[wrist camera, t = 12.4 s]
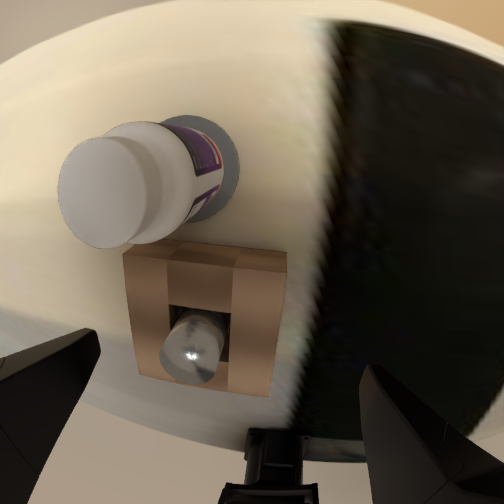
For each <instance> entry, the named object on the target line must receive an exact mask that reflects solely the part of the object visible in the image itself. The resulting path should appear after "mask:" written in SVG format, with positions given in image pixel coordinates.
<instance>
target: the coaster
mask: <svg viewBox="0 0 504 504" xmlns="http://www.w3.org/2000/svg"><path fill="white" fill-rule="evenodd" d="M160 124H167V125H173V126H180V127H186V128H191V129H195V130H198V131H200V132H202V133H204V134H205V135H207V136H208V137H209V138H210V139H211V140H212V141H213V142H214V143H215V144H216V146H217V147H218V149H219V151H220V153H221V156H222V160H223V166H224V175H223V180H222V183H221V186H220V188H219V191H218V192H217V194H216V195H215V197H214V198H213V199H212V200H211V201H210V202H209V203H208V204H207V205H206V206H204V207H203V208H202V209H201V210H200V211H198V212H197V213H196V214H195V215H193V216H192V217H191V218H189V219H188V220H187V221H186V222H184V223H191V222H197V221H201V220H204V219H206V218H209V217H210V216H212V215H214V214H215V213H216V212H218V211H219V210H220V209H221V208H222V207H223V206H224V205H225V204H226V203H227V202H228V201H229V199H230V198H231V196H232V194H233V193H234V191H235V188H236V186H237V182H238V178H239V158H238V154H237V150H236V148H235V145H234V143H233V142H232V140H231V138H230V137H229V136H228V134H227V133H226V132H225V131H224V130H223V129H222V128H221V127H219V126H218V125H217V124H215V123H213V122H211V121H209V120H207V119H204V118H201V117H197V116H189V115H185V116H177V117H173V118H170V119H167V120H165V121H163V122H161V123H160Z"/></svg>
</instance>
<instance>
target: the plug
mask: <svg viewBox="0 0 504 504" xmlns="http://www.w3.org/2000/svg"><path fill="white" fill-rule="evenodd" d="M230 323H231V313H226V312H218V311H211V310H204V309H197V308H190V307H185V308H184V310H183V311H182V313H181V315H180V316H179V318H178V320H177V322H176V323H175V325H174V327H173V328H172V330H171V332H170V334H169V335H168V337H167V339H166V340H165V342H164V344H163V346H162V347H161V349H160V352H159V360H160V363H161V365H162V367H163V368H164V370H165V371H166V372H167V373H168V374H169V375H170V376H172V377H173V378H175V379H176V380H178V381H181V382H183V383H187V384H203V383H206V382H208V381H209V380H211V379H212V378H213V376H214V375H215V372H216V369H217V366H218V362H219V359H220V356H221V352H222V349H223V346H224V342H225V339H226V336H227V333H228V329H229V326H230Z"/></svg>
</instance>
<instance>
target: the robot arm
mask: <svg viewBox="0 0 504 504" xmlns="http://www.w3.org/2000/svg"><path fill="white" fill-rule="evenodd" d="M100 353H101V348H100V344H99V340H98V336H97V333H96V331H95V330H93V329H89V328H83V329H80V330H78V331H75V332H72V333H70V334H67V335H64V336H61V337H59V338H56V339H53V340H50V341H47V342H45V343H42V344H39V345H36V346H34V347H31V348H28V349H25V350H22V351H20V352H17V353H14V354H11V355H8V356H7V357H2V358H0V504H27V503H28V501H29V498H30V496H31V494H32V491H33V489H34V487H35V485H36V482H37V480H38V478H39V475H40V474H41V472H42V470H43V467H44V465H45V463H46V461H47V459H48V457H49V455H50V453H51V451H52V449H53V447H54V445H55V443H56V441H57V439H58V437H59V436H60V434H61V432H62V430H63V428H64V426H65V424H66V422H67V420H68V419H69V417H70V414H71V413H72V411H73V409H74V407H75V406H76V404H77V402H78V400H79V399H80V397H81V395H82V393H83V392H84V390H85V388H86V386H87V383H88V381H89V379H90V377H91V374H92V372H93V370H94V368H95V365H96V363H97V361H98V359H99V357H100ZM359 395H360V409H361V426H362V434H363V440H364V446H365V452H366V458H367V464H368V471H369V478H370V485H371V493H372V501H373V504H504V463H503V462H501V461H500V460H498V459H497V458H495V457H494V456H492V455H491V454H489V453H488V452H486V451H485V450H483V449H482V448H480V447H479V446H477V445H476V444H475V443H473V442H472V441H470V440H469V439H468V438H466V437H465V436H464V435H462V434H461V433H460V432H459V431H457V430H456V429H455V428H454V427H453V426H451V425H450V424H449V423H448V424H447V421H445V420H444V419H443V418H442V417H441V416H440V415H438V414H437V413H436V412H435V411H434V410H432V409H431V408H430V407H429V406H428V405H427V404H425V403H424V402H423V401H422V400H421V399H419V398H418V397H417V396H416V395H415V394H414V393H412V392H411V391H410V390H409V389H408V388H406V387H405V386H404V385H403V384H402V383H401V382H399V381H398V380H397V379H396V378H395V377H394V376H392V375H391V374H390V373H389V372H388V371H386V370H385V369H384V368H383V367H382V366H380V365H367V366H366V368H365V371H364V374H363V376H362V379H361V382H360V386H359ZM310 440H311V434H310V433H301V432H285V431H272V430H262V429H248V432H247V440H246V448H245V456H244V459H245V460H246V461H247V467H246V474H245V480H244V484H232V483H226V485H225V488H223V490H222V493H221V496H220V498H219V501H218V504H319V498H318V484H317V483H313V484H309V485H303V457H304V455H305V452H306V450H307V448H308V445H309V443H310Z"/></svg>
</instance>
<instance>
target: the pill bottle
mask: <svg viewBox="0 0 504 504" xmlns="http://www.w3.org/2000/svg"><path fill="white" fill-rule="evenodd" d="M223 175H224V166H223V160H222V156H221V153H220V151H219V149H218V147H217V146H216V144H215V143H214V142H213V141H212V140H211V139H210V138H209V137H208V136H207V135H205V134H204V133H202V132H200V131H198V130H195V129H191V128H186V127H180V126H173V125H167V124H160V123H153V122H130V123H126V124H122V125H120V126H117V127H115V128H113V129H112V130H110V131H109V132H107V133H106V134H105V135H104V136H103V137H97V138H92V139H89V140H86V141H84V142H82V143H80V144H79V145H78V146H76V147H75V148H74V149H73V150H72V151H71V152H70V154H69V155H68V156H67V158H66V160H65V161H64V163H63V166H62V168H61V171H60V175H59V181H58V202H59V206H60V210H61V213H62V216H63V218H64V220H65V222H66V224H67V226H68V227H69V229H70V230H71V231H72V232H73V233H74V235H75V236H76V237H77V238H79V239H80V240H81V241H82V242H84V243H86V244H87V245H90V246H92V247H95V248H99V249H111V248H116V247H119V246H121V245H123V244H125V243H131V244H146V243H152V242H155V241H158V240H160V239H162V238H164V237H166V236H167V235H169V234H170V233H172V232H173V231H175V230H176V229H177V228H178V227H180V226H181V225H182V224H183V223H184V222H186V221H187V220H188V219H189V218H191V217H192V216H193V215H195V214H196V213H197V212H198V211H200V210H201V209H202V208H203V207H204V206H206V205H207V204H208V203H209V202H210V201H211V200H212V199H213V198H214V197H215V195H216V194H217V192H218V191H219V188H220V186H221V183H222V180H223Z"/></svg>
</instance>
